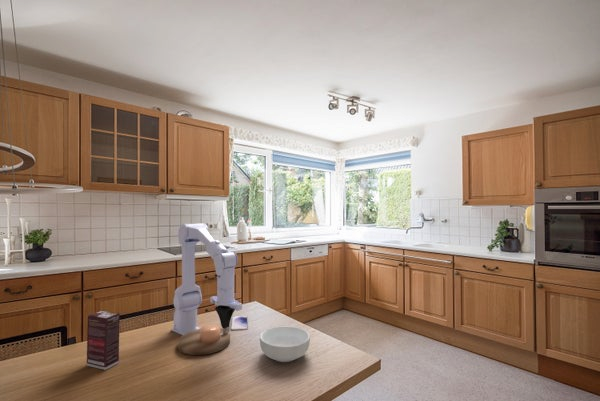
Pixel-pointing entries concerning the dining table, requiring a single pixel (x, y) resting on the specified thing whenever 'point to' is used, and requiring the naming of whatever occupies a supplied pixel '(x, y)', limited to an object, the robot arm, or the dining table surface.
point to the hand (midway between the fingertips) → (225, 327)
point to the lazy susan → (194, 347)
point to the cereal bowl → (284, 343)
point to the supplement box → (103, 339)
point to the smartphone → (239, 323)
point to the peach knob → (209, 334)
